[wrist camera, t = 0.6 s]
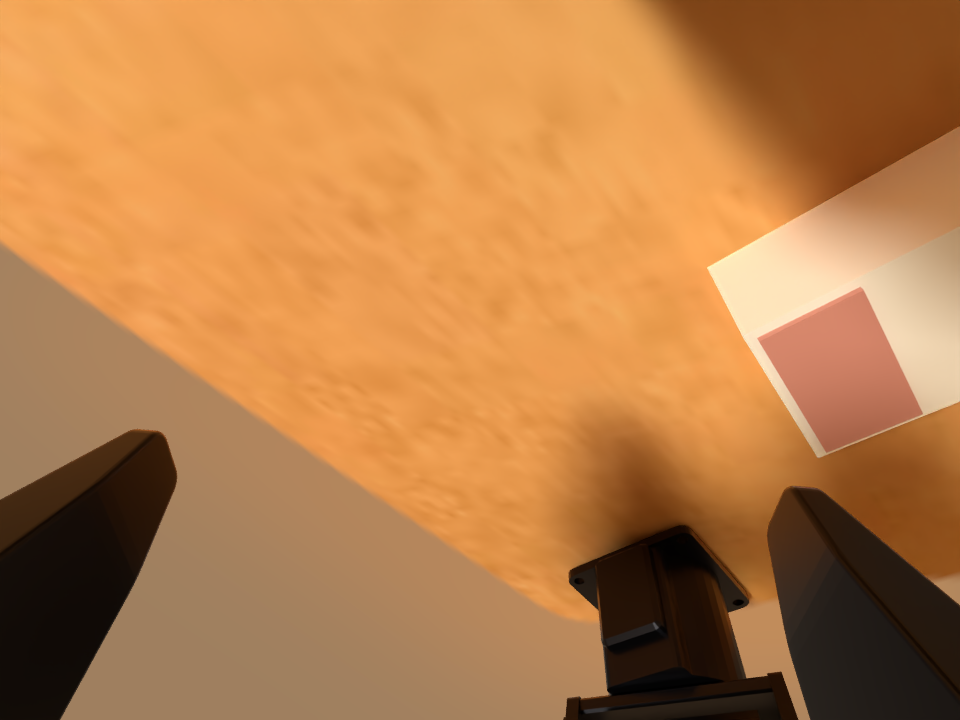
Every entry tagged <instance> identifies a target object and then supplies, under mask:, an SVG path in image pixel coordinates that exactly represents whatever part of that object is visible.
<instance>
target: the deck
mask: <svg viewBox="0 0 960 720" xmlns="http://www.w3.org/2000/svg"><path fill="white" fill-rule="evenodd" d="M707 268H708V270H709V272H710V274H711V276H712V278H713V280H714V282H715V284H716V286H717V288H718V290H719V291H720V293H721V295H722V297H723V299H724V301H725V303H726V305H727V307H728V309H729V311H730V313H731V315H732V317H733V319H734V321H735V323H736V325H737V327H738V329H739V330H740V332H741V334H742V336H743V338H744V339H745V341H746V343H747V344H748V346H749V348H750V349H751V351H752V352H753V354H754V356H755V357H756V359H757V360H758V362H759V364H760V365H761V367H762V369H763V370H764V372H765V373H766V375H767V377H768V378H769V380H770V381H771V383H772V385H773V386H774V388H775V390H776V391H777V393H778V394H779V396H780V398H781V399H782V401H783V403H784V404H785V406H786V407H787V409H788V411H789V412H790V414H791V415H792V417H793V419H794V420H795V422H796V424H797V425H798V427H799V428H800V430H801V432H802V433H803V435H804V436H805V438H806V440H807V441H808V443H809V445H810V446H811V448H812V449H813V451H814V453H815V454H816V456H817V458H820V457H822V456H825V455H827V454H830V453H832V452H835V451H837V450H840V449H842V448H845V447H847V446H850V445H852V444H855V443H857V442H860V441H862V440H865V439H867V438H870V437H872V436H875V435H877V434H880V433H882V432H885V431H887V430H890V429H892V428H895V427H897V426H900V425H902V424H905V423H907V422H910V421H912V420H915V419H917V418H920V417H922V416H925V415H927V414H930V413H932V412H935V411H937V410H940V409H942V408H945V407H947V406H950V405H953V404H955V403H958V402H960V126H959V127H957V128H956V129H954V130H952V131H950V132H948V133H947V134H945V135H943V136H941V137H939V138H938V139H936V140H934V141H932V142H931V143H929V144H927V145H925V146H923V147H922V148H920V149H918V150H916V151H914V152H913V153H911V154H909V155H907V156H906V157H904V158H902V159H900V160H898V161H897V162H895V163H893V164H891V165H889V166H888V167H886V168H884V169H882V170H881V171H879V172H877V173H875V174H873V175H872V176H870V177H868V178H866V179H864V180H863V181H861V182H859V183H857V184H856V185H854V186H852V187H850V188H848V189H847V190H845V191H843V192H841V193H839V194H838V195H836V196H834V197H832V198H831V199H829V200H827V201H825V202H823V203H822V204H820V205H818V206H816V207H814V208H813V209H811V210H809V211H807V212H806V213H804V214H802V215H800V216H798V217H797V218H795V219H793V220H791V221H790V222H788V223H786V224H784V225H782V226H781V227H779V228H777V229H775V230H773V231H772V232H770V233H768V234H766V235H765V236H763V237H761V238H759V239H757V240H756V241H754V242H752V243H750V244H748V245H747V246H745V247H743V248H741V249H740V250H738V251H736V252H734V253H732V254H731V255H729V256H727V257H725V258H723V259H722V260H720V261H718V262H716V263H715V264H713V265H711V266H709V267H707Z"/></svg>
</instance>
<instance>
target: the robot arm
mask: <svg viewBox="0 0 960 720" xmlns="http://www.w3.org/2000/svg"><path fill="white" fill-rule="evenodd" d="M176 482H177V471H176V467H175V464H174V461H173V458H172V455H171V452H170V449H169V445H168V442H167V439H166V437H165V436H164V435H163V434H162V433H161V432H159V431H153V430H141V429H134V430H130V431H128V432H126V433H124V434H122V435H120V436H119V437H117V438H115V439H113V440H111V441H109V442H107V443H106V444H104V445H102V446H100V447H98V448H96V449H94V450H92V451H91V452H89V453H87V454H85V455H83V456H81V457H79V458H78V459H76V460H74V461H72V462H70V463H68V464H66V465H64V466H63V467H61V468H59V469H57V470H55V471H53V472H51V473H49V474H47V475H46V476H44V477H42V478H40V479H38V480H36V481H34V482H33V483H31V484H29V485H27V486H25V487H23V488H21V489H19V490H17V491H16V492H14V493H12V494H10V495H8V496H6V497H4V498H3V499H1V500H0V720H60V719H61V717H62V715H63V714H64V712H65V710H66V708H67V706H68V704H69V703H70V701H71V699H72V697H73V695H74V693H75V692H76V690H77V688H78V686H79V684H80V682H81V681H82V679H83V677H84V675H85V673H86V672H87V670H88V668H89V666H90V664H91V662H92V661H93V659H94V657H95V655H96V653H97V651H98V649H99V648H100V646H101V644H102V642H103V640H104V639H105V637H106V635H107V633H108V631H109V630H110V628H111V626H112V624H113V622H114V620H115V619H116V617H117V615H118V613H119V611H120V609H121V608H122V606H123V604H124V602H125V600H126V598H127V597H128V595H129V593H130V591H131V589H132V587H133V585H134V583H135V581H136V579H137V577H138V575H139V573H140V570H141V568H142V566H143V564H144V561H145V559H146V556H147V554H148V552H149V549H150V547H151V544H152V542H153V540H154V537H155V535H156V533H157V530H158V528H159V525H160V523H161V520H162V518H163V516H164V513H165V511H166V509H167V506H168V504H169V501H170V499H171V496H172V494H173V492H174V489H175V487H176ZM767 539H768V546H769V551H770V556H771V562H772V567H773V572H774V577H775V583H776V588H777V593H778V598H779V604H780V609H781V614H782V619H783V625H784V630H785V634H786V639H787V643H788V647H789V651H790V654H791V658H792V661H793V665H794V668H795V671H796V674H797V678H798V681H799V684H800V687H801V691H802V694H803V697H804V700H805V703H806V707H807V710H808V713H809V716H810V720H960V605H959V604H958V603H956V602H955V601H954V600H953V599H952V598H950V597H949V596H948V595H947V594H946V593H944V592H943V591H942V590H941V589H940V588H938V587H937V586H936V585H935V584H934V583H932V582H931V581H930V580H929V579H928V578H926V577H925V576H924V575H923V574H922V573H920V572H919V571H918V570H917V569H916V568H914V567H913V566H912V565H911V564H910V563H908V562H907V561H906V560H905V559H904V558H902V557H901V556H900V555H899V554H898V553H896V552H895V551H894V550H893V549H892V548H890V547H889V546H888V545H887V544H886V543H884V542H883V541H882V540H881V539H880V538H878V537H877V536H876V535H875V534H874V533H872V532H871V531H870V530H869V529H868V528H866V527H865V526H864V525H863V524H862V523H860V522H859V521H858V520H857V519H856V518H854V517H853V516H852V515H851V514H850V513H848V512H847V511H846V510H845V509H844V508H842V507H841V506H840V505H839V504H838V503H836V502H835V501H834V500H833V499H832V498H830V497H829V496H828V495H827V494H826V493H824V492H823V491H821V490H820V489H817V488H811V487H799V486H790V487H788V488H786V489H785V490H784V492H783V494H782V496H781V498H780V500H779V503H778V505H777V507H776V509H775V512H774V514H773V516H772V518H771V521H770V523H769V526H768V533H767ZM569 583H570V584H571V585H572V586H573V587H574V588H575V589H576V590H577V591H578V592H579V593H580V594H581V595H582V596H584V597H585V598H586V599H587V600H588V601H589V602H590V603H591V604H592V605H593V606H594V607H595V608H597V609H598V610H599V619H600V630H601V641H602V644H603V650H604V661H605V673H606V683H607V691H608V692H609V695H608V696H599V697H591V698H583V699H581V698H580V697H572V698H568V699H567V707H566V717H564V719H563V720H798V718H797V715H796V712H795V709H794V706H793V703H792V701H791V698H790V695H789V692H788V689H787V686H786V684H785V681H784V678H783V675H782V672H775V673H768V674H767V675H768V676H764V677H755V678H747V679H746V675H745V672H744V668H743V665H742V661H741V658H740V654H739V650H738V647H737V643H736V640H735V636H734V633H733V629H732V625H731V622H730V618H729V615H728V612H731V611H734V610H738V609H741V608H743V607H745V606H747V605H748V604H749V600H748V596H747V594H746V592H745V590H744V589H743V588H742V587H741V586H740V585H739V584H738V582H737V581H736V580H735V579H734V578H733V577H732V576H731V574H730V573H729V572H728V571H727V570H726V569H725V567H724V566H723V565H722V564H721V563H720V562H719V561H718V559H717V558H716V557H715V556H714V555H713V554H712V553H711V551H710V550H709V549H708V548H707V547H706V546H705V544H704V543H703V542H702V541H701V540H700V539H699V538H698V536H697V535H696V534H695V533H694V532H693V531H692V530H691V529H690V528H689V527H687V526H677V527H674V528H672V529H669V530H667V531H664V532H662V533H659V534H657V535H655V536H652V537H650V538H647V539H645V540H642V541H640V542H637V543H635V544H633V545H630V546H628V547H625V548H623V549H620V550H618V551H615V552H613V553H611V554H608V555H606V556H603V557H601V558H598V559H596V560H593V561H591V562H589V563H586V564H584V565H581V566H579V567H576V568H574V569H572V570H570V572H569Z"/></svg>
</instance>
